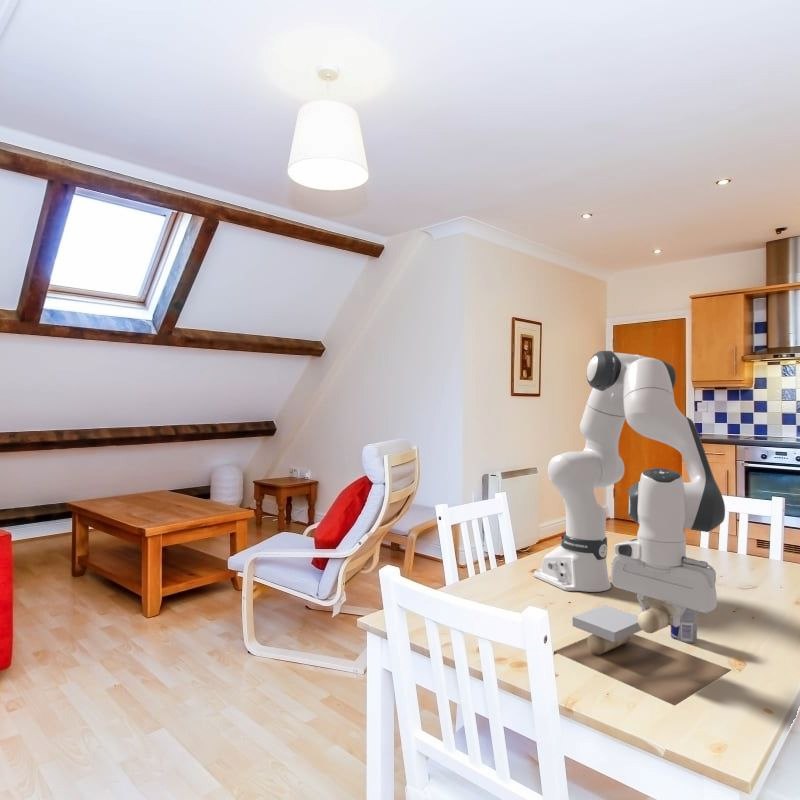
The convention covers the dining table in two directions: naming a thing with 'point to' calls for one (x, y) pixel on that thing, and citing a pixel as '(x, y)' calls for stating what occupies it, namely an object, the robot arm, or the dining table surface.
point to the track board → (645, 665)
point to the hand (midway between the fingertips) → (660, 621)
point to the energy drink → (686, 627)
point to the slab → (607, 623)
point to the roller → (656, 617)
